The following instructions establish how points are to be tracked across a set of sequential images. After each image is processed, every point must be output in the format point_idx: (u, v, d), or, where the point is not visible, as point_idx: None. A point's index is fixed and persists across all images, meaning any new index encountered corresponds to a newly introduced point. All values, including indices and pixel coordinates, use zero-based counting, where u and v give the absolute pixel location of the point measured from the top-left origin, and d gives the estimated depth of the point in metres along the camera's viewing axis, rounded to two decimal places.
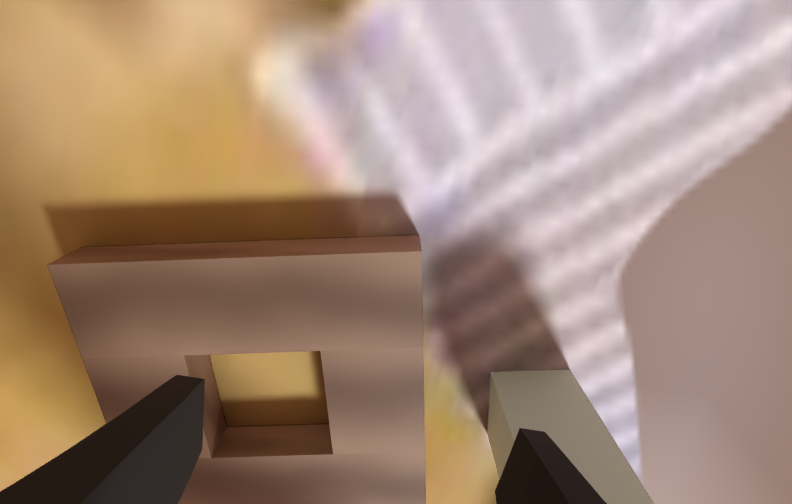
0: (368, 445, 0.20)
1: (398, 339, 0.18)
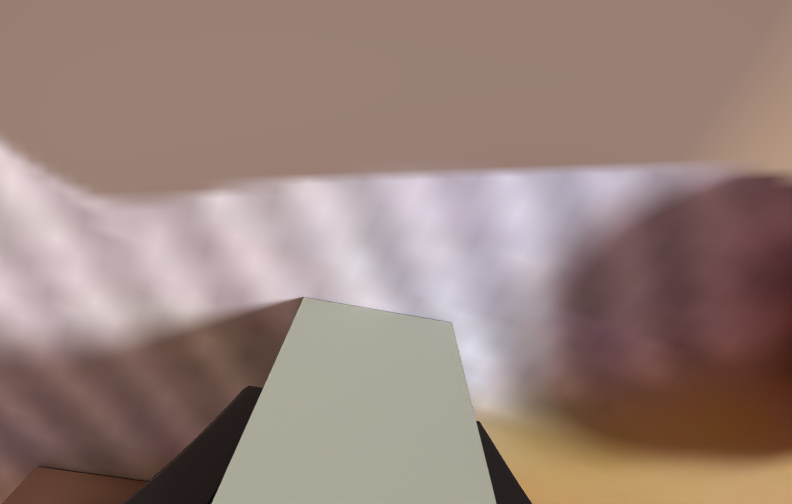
0: None
1: None
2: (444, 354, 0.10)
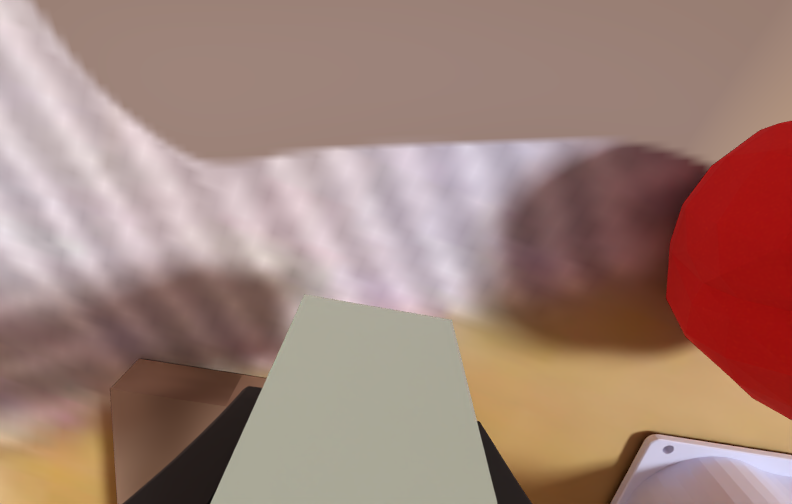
0: None
1: None
2: (444, 350, 0.10)
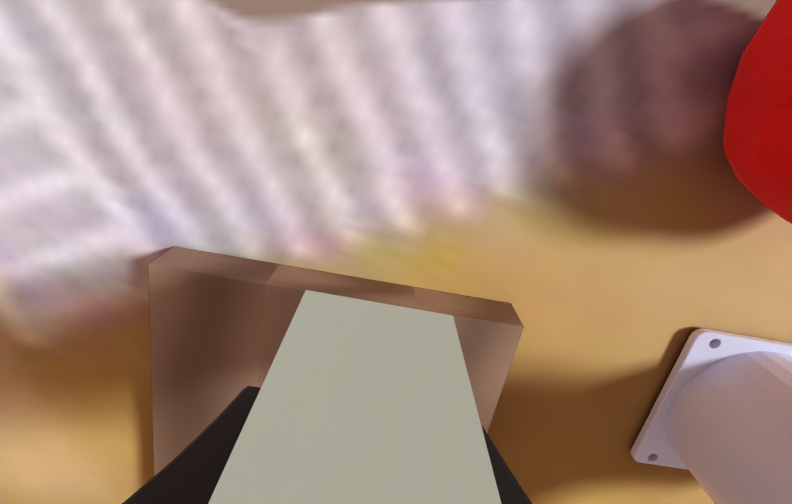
0: None
1: (252, 305, 0.17)
2: (445, 346, 0.10)
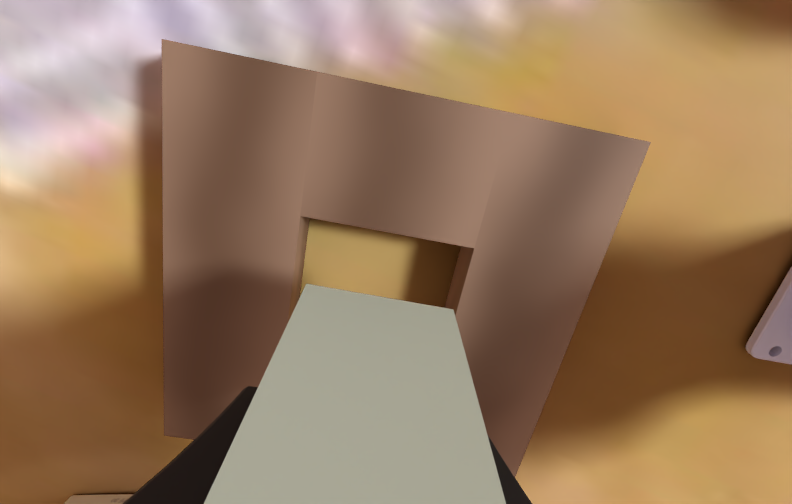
0: (474, 196, 0.14)
1: (298, 106, 0.13)
2: (446, 338, 0.10)
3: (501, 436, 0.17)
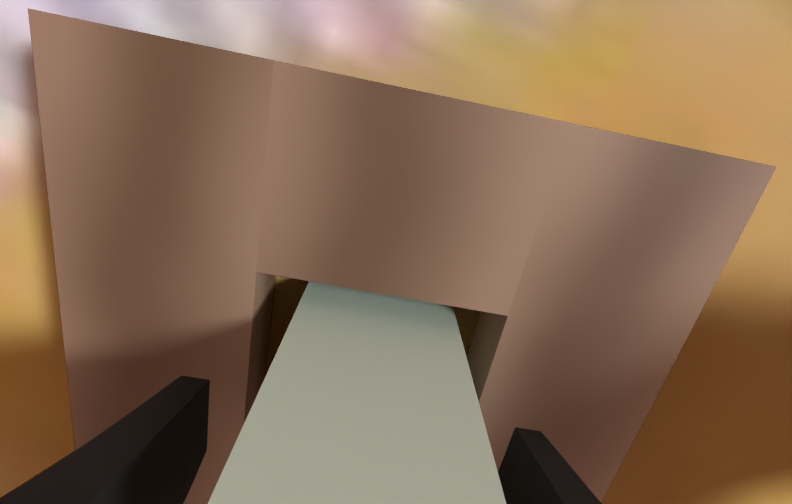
0: (509, 244, 0.09)
1: (246, 113, 0.08)
2: (443, 322, 0.11)
3: None
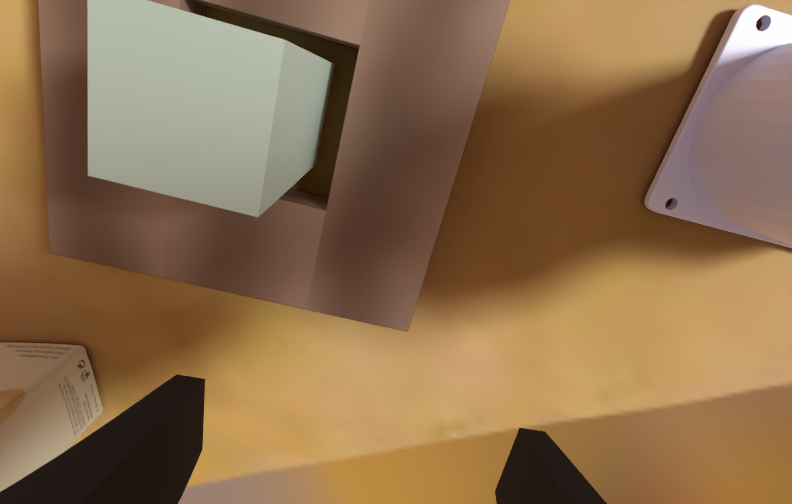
0: None
1: None
2: None
3: (395, 271, 0.17)
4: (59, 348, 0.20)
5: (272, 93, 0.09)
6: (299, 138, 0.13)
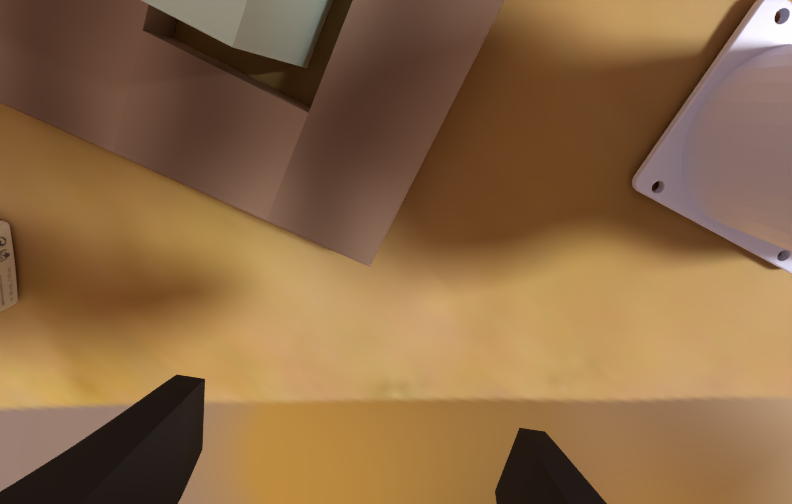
0: None
1: None
2: None
3: (369, 197, 0.16)
4: None
5: None
6: (295, 3, 0.11)
